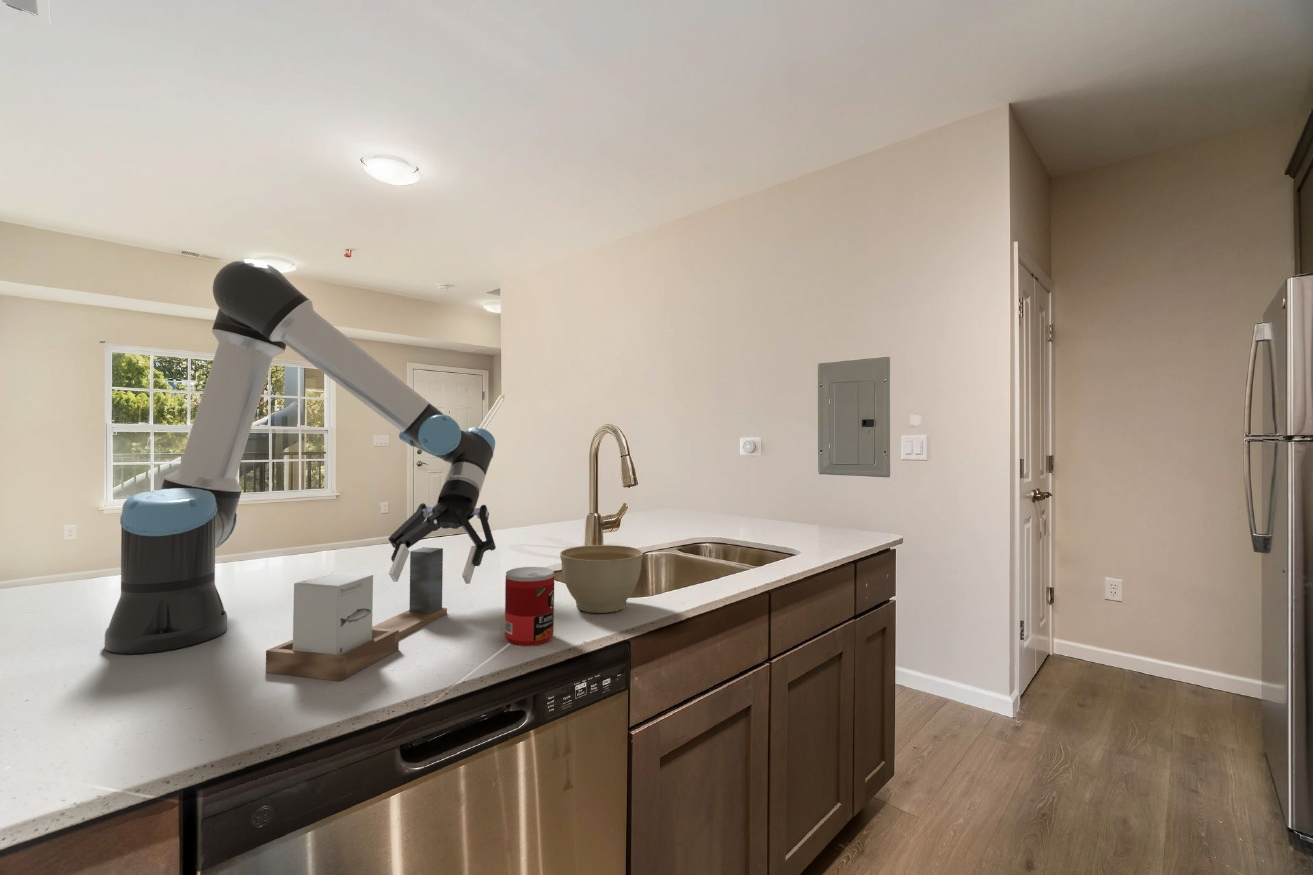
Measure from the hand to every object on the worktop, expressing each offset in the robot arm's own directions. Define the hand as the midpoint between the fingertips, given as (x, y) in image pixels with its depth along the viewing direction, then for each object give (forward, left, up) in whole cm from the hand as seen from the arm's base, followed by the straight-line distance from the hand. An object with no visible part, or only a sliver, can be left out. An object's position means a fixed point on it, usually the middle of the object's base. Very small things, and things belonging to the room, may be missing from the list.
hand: (429, 579), depth 106 cm
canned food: (+23, -6, -7) cm, 24 cm away
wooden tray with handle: (0, -13, -7) cm, 15 cm away
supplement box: (0, -24, -7) cm, 25 cm away
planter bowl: (+29, +14, -7) cm, 33 cm away
